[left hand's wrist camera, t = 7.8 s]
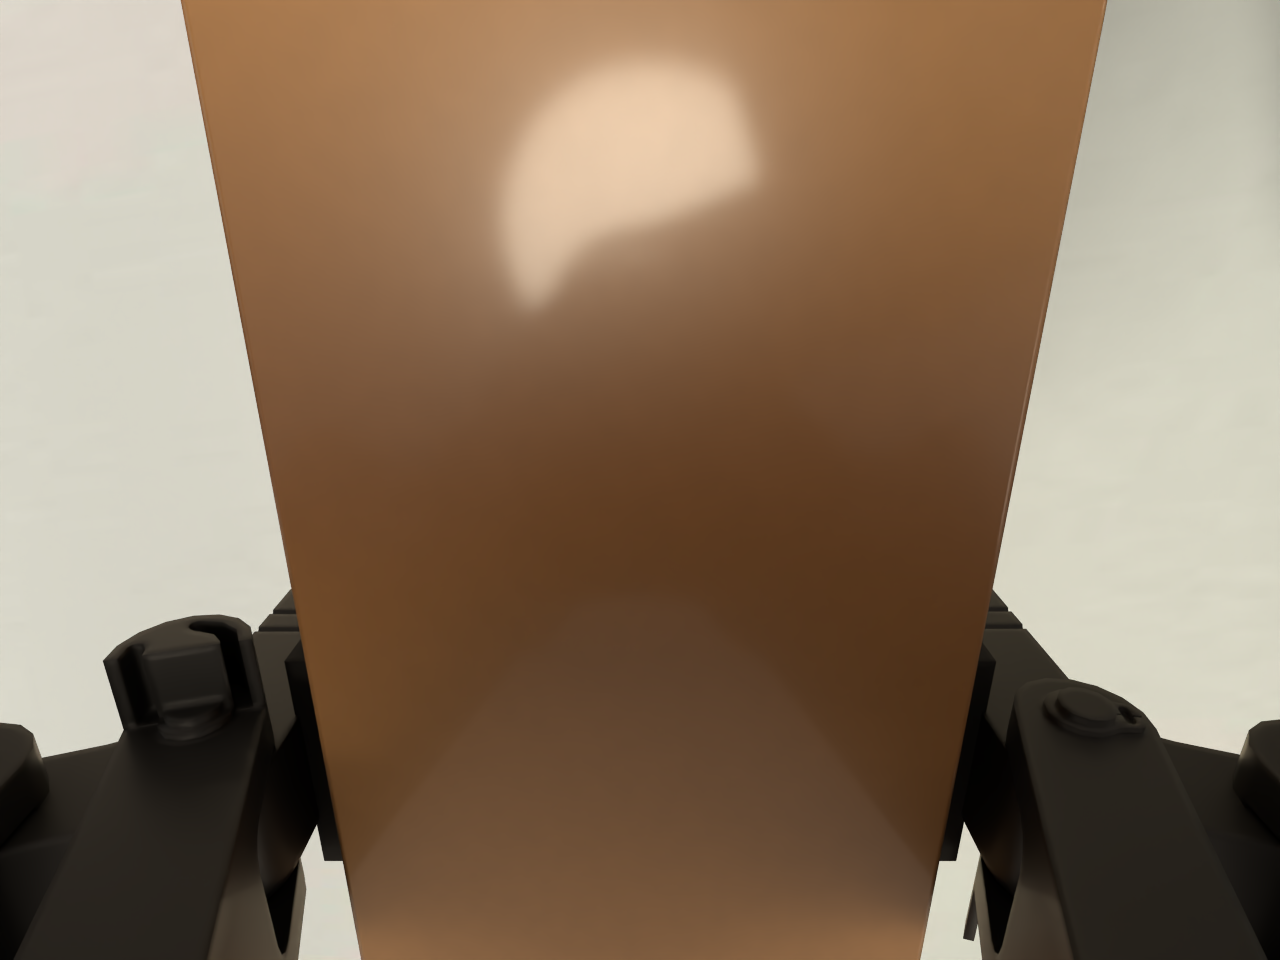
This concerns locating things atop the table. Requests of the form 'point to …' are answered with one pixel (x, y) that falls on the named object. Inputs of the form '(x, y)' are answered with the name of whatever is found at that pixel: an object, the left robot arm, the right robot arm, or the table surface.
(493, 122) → the wooden beam
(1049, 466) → the table surface
